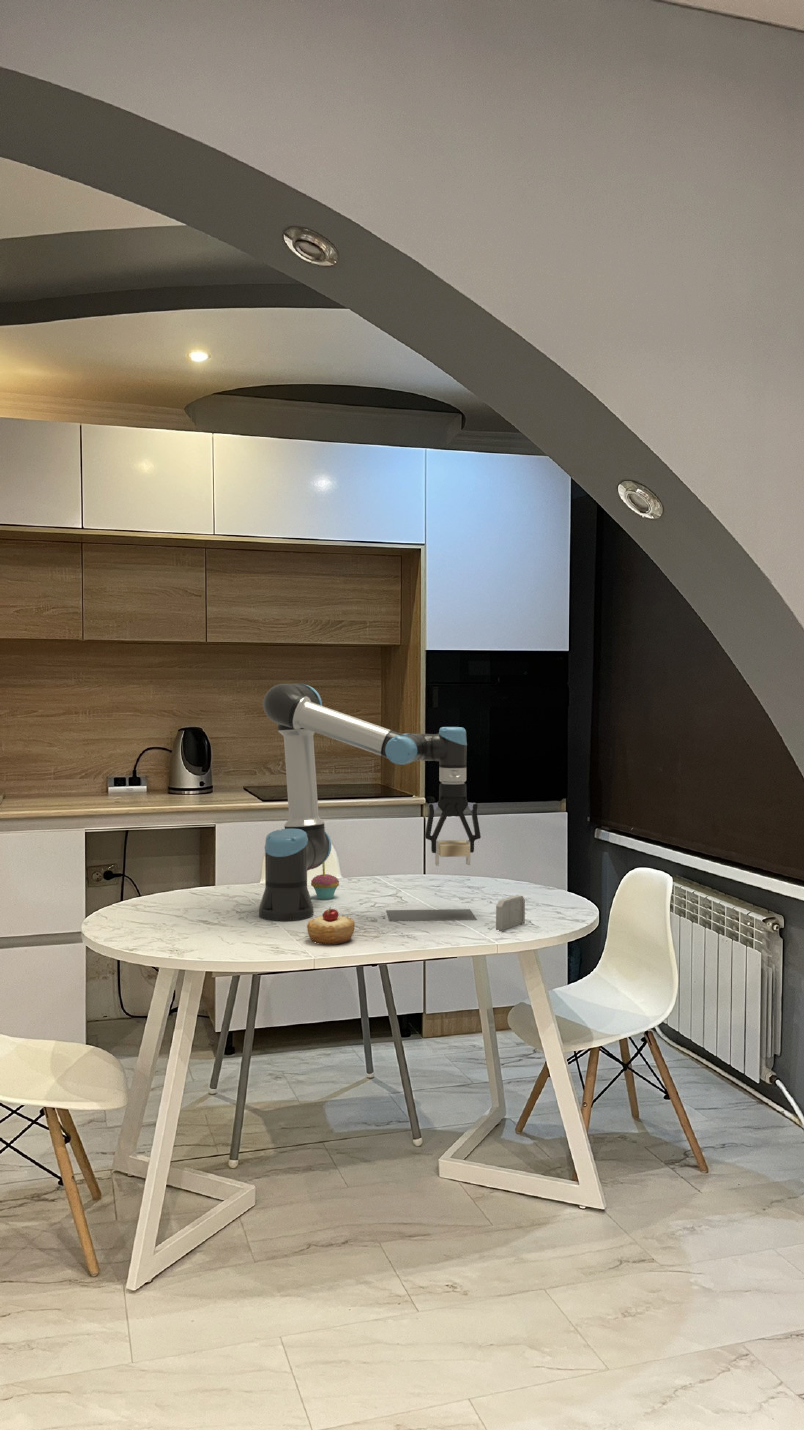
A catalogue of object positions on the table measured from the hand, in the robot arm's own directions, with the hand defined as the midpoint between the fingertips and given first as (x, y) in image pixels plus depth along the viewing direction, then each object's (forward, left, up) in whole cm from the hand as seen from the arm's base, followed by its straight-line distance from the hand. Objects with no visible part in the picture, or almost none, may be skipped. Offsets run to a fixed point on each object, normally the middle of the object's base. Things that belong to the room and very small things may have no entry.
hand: (452, 864), depth 292 cm
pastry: (-34, -25, -15) cm, 45 cm away
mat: (-6, 0, -15) cm, 16 cm away
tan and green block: (0, -5, +5) cm, 7 cm away
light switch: (+14, -13, -15) cm, 24 cm away
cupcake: (-35, +29, -15) cm, 48 cm away
